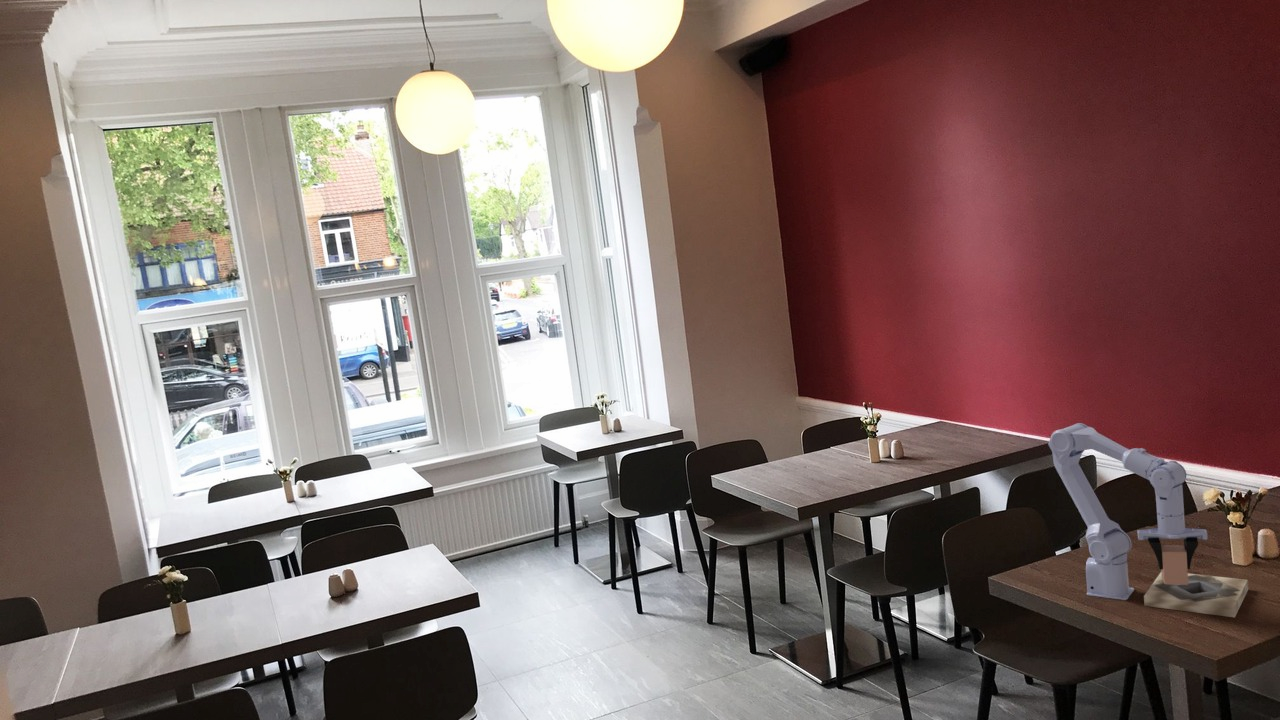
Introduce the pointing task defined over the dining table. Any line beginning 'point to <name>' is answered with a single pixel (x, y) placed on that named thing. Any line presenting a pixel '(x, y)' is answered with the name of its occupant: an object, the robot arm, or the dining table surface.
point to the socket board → (1199, 595)
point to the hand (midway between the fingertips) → (1174, 567)
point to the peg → (1174, 565)
